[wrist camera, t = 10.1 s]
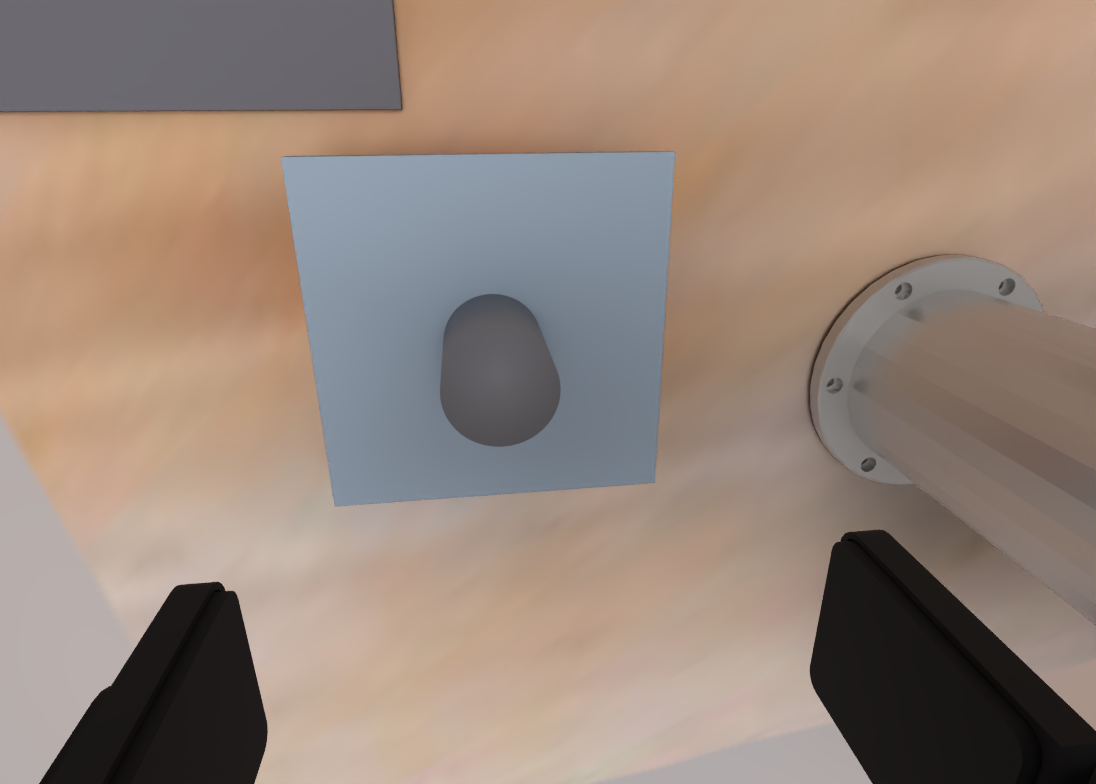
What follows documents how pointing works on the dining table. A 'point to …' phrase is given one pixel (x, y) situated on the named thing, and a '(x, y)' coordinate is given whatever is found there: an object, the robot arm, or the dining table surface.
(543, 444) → the lid
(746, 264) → the dining table surface
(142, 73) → the mat
